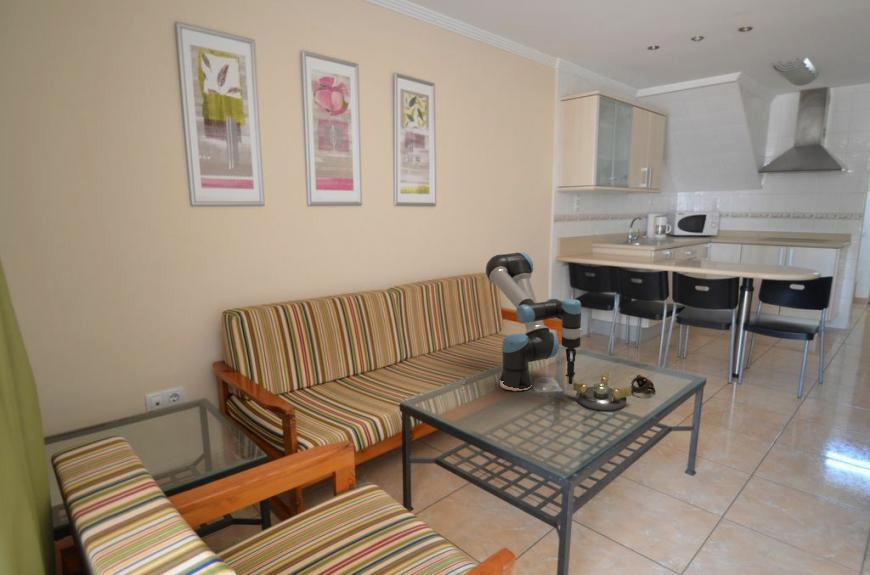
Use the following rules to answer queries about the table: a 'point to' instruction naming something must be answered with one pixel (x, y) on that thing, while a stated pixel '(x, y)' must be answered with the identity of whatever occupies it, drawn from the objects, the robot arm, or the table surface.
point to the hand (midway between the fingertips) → (570, 389)
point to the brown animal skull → (642, 384)
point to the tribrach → (600, 399)
